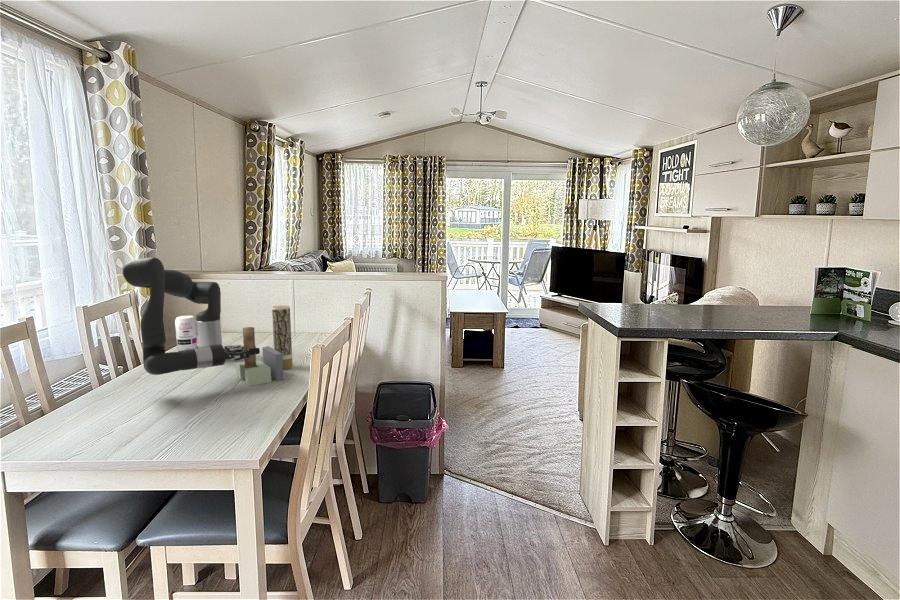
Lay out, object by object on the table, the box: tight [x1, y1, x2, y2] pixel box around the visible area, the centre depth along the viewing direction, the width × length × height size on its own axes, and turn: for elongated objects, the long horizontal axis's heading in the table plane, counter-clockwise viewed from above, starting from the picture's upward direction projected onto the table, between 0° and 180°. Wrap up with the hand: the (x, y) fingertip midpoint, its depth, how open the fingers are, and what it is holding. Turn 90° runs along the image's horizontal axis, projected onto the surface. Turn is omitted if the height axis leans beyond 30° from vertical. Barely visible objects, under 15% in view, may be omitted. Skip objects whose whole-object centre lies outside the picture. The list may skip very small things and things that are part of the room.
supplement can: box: [174, 315, 198, 351], centre depth 241 cm, size 8×8×15 cm
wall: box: [262, 345, 284, 381], centre depth 204 cm, size 14×2×10 cm, turn 39°
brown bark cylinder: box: [271, 304, 293, 370], centre depth 213 cm, size 7×7×25 cm
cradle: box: [235, 358, 272, 387], centre depth 200 cm, size 14×8×6 cm, turn 39°
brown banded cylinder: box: [242, 326, 257, 369], centre depth 198 cm, size 4×4×18 cm
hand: (257, 349), depth 199 cm, fingers closed on brown banded cylinder, 4 cm apart
